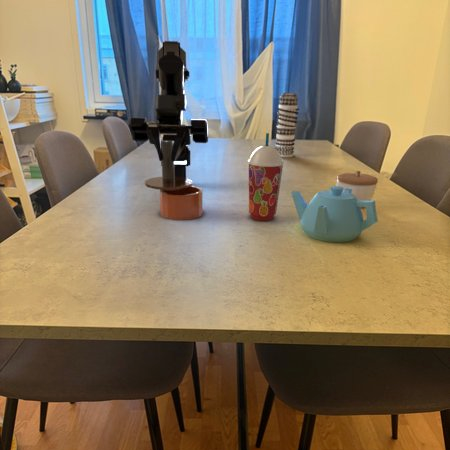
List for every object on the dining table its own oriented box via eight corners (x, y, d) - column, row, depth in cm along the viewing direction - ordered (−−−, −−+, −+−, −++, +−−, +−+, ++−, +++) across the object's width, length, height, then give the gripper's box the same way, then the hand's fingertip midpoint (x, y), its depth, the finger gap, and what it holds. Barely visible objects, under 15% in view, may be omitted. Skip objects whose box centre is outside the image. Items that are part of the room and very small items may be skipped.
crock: (194, 206, 117) (193, 183, 114) (208, 217, 108) (208, 193, 105) (155, 209, 113) (154, 186, 110) (167, 221, 104) (166, 196, 101)
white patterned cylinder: (295, 157, 188) (302, 94, 176) (274, 156, 188) (279, 93, 176) (293, 154, 196) (298, 93, 184) (272, 153, 196) (277, 92, 184)
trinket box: (346, 198, 128) (351, 165, 124) (379, 205, 121) (386, 171, 117) (326, 204, 121) (330, 170, 117) (360, 212, 115) (366, 177, 110)
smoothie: (281, 215, 111) (289, 132, 102) (274, 224, 104) (281, 136, 95) (250, 211, 114) (255, 130, 104) (241, 220, 107) (245, 134, 97)
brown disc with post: (173, 179, 114) (171, 136, 109) (201, 187, 107) (201, 142, 102) (135, 185, 107) (132, 139, 102) (163, 195, 99) (161, 146, 94)
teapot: (311, 247, 91) (318, 197, 86) (286, 225, 104) (291, 179, 99) (376, 243, 94) (386, 194, 89) (344, 222, 107) (351, 178, 102)
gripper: (126, 79, 99) (120, 136, 95) (207, 81, 99) (204, 139, 95) (136, 113, 110) (130, 166, 105) (209, 115, 110) (206, 168, 105)
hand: (167, 160), depth 102 cm, fingers closed on brown disc with post, 3 cm apart
